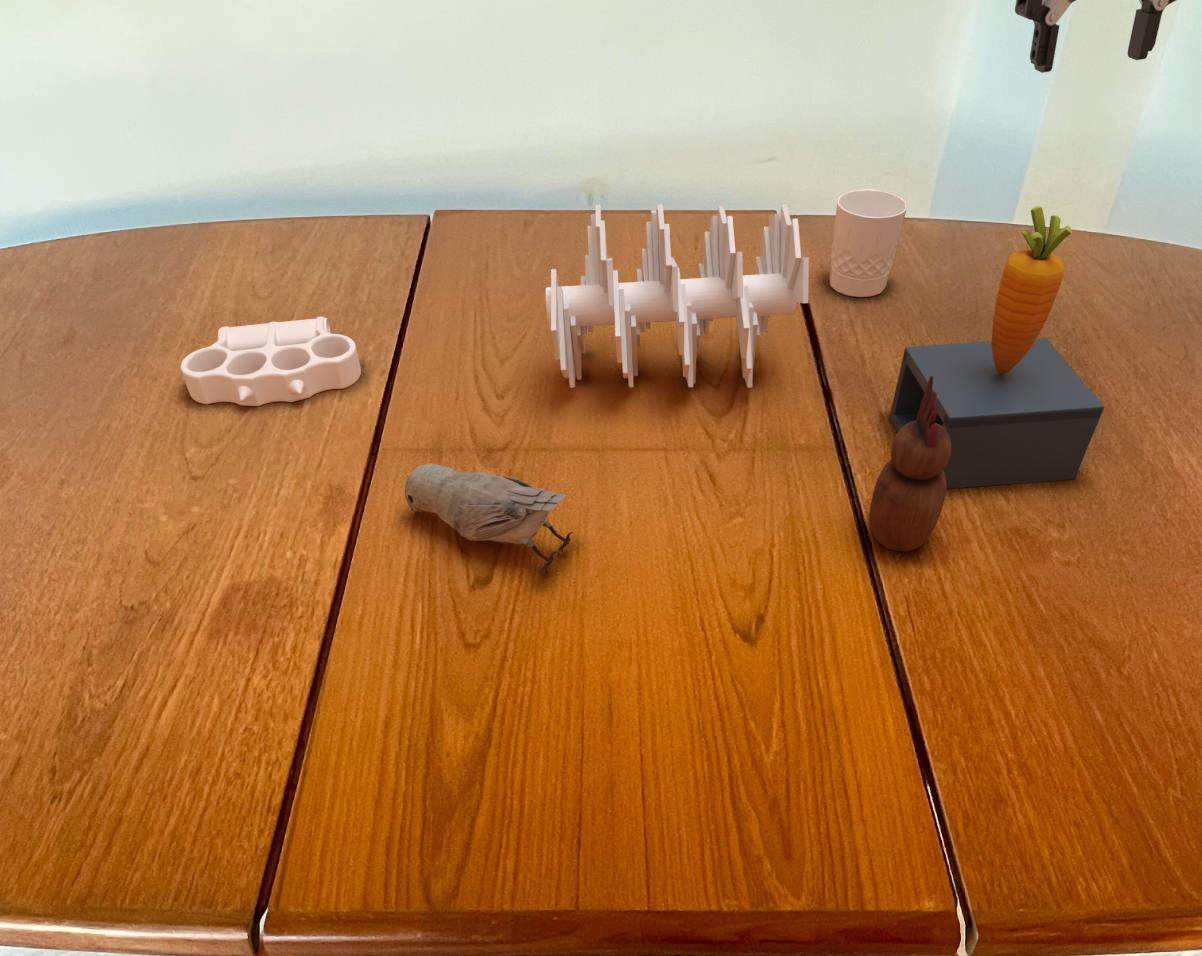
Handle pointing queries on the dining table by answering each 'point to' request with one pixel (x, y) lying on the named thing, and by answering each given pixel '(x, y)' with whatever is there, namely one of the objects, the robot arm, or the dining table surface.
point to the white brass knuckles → (271, 363)
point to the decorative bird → (484, 505)
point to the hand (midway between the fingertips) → (1089, 64)
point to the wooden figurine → (912, 481)
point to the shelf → (1001, 412)
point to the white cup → (865, 241)
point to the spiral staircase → (679, 293)
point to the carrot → (1027, 292)
